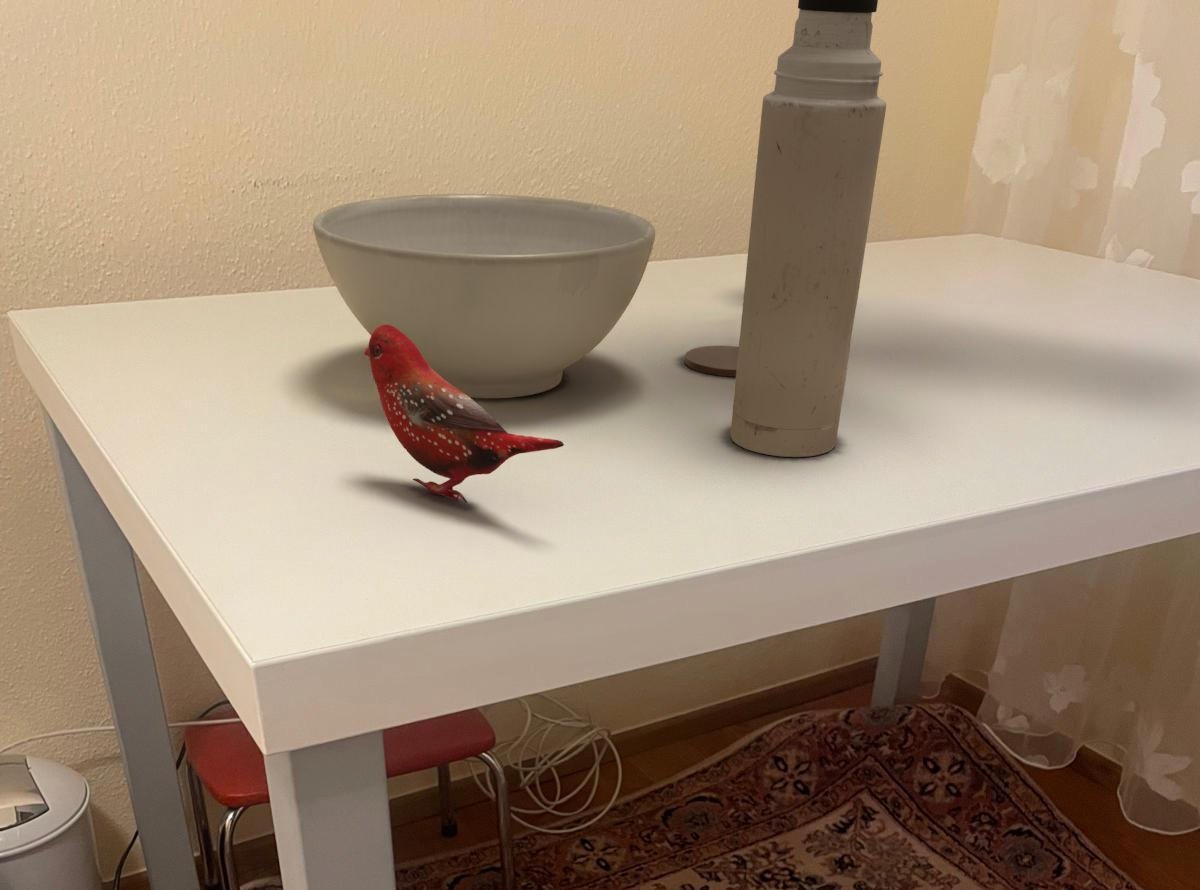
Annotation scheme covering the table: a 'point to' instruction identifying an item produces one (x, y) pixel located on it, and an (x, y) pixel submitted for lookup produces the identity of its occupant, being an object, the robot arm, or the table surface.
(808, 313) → the thermos bottle
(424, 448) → the decorative bird figurine
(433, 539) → the table surface
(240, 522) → the table surface
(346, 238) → the decorative bowl
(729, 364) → the walnut coaster
